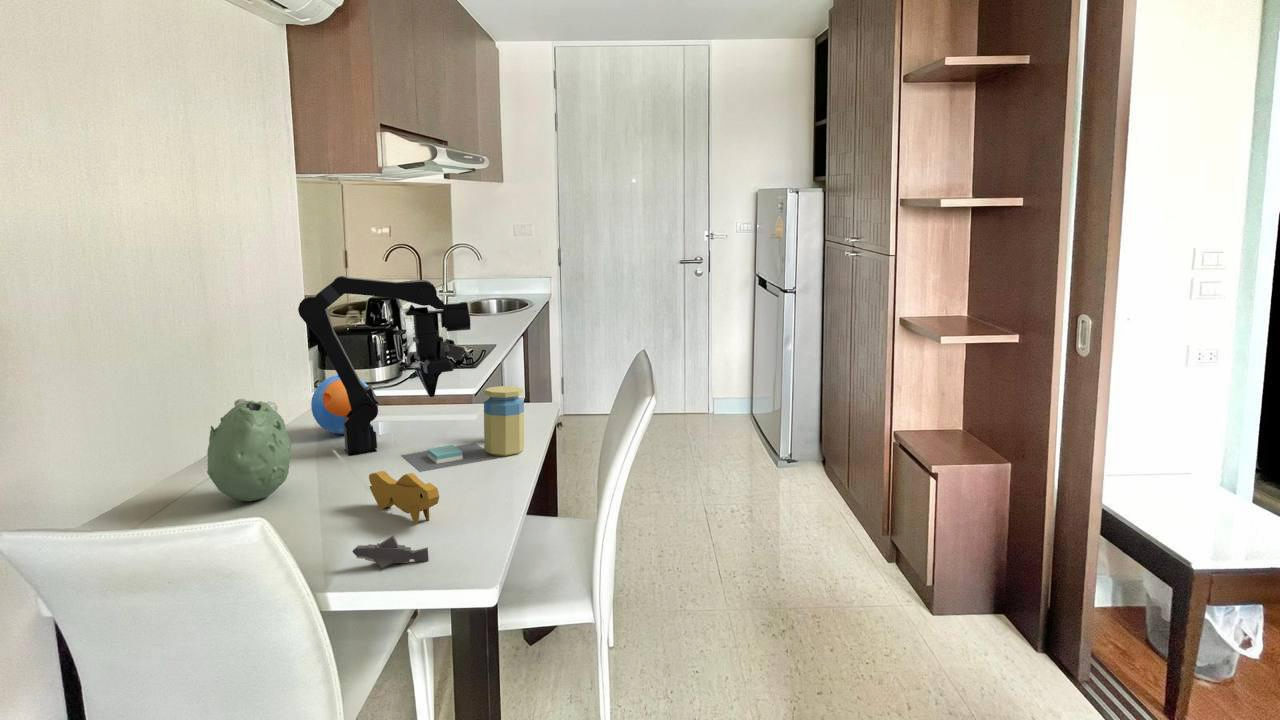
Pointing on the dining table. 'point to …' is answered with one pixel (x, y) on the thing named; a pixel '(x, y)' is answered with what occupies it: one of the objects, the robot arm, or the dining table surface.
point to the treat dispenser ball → (331, 405)
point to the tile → (445, 454)
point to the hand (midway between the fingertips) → (431, 396)
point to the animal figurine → (390, 553)
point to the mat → (469, 456)
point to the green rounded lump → (249, 451)
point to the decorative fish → (404, 493)
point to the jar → (503, 421)
